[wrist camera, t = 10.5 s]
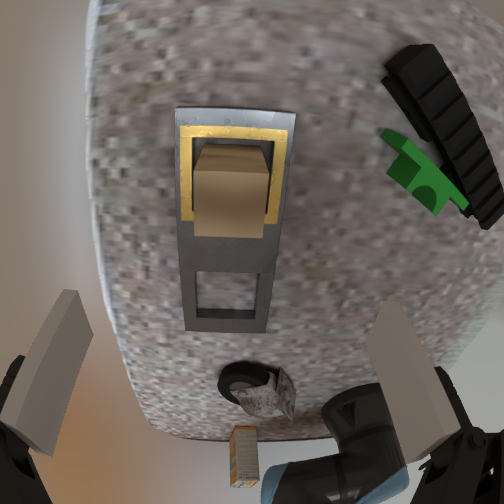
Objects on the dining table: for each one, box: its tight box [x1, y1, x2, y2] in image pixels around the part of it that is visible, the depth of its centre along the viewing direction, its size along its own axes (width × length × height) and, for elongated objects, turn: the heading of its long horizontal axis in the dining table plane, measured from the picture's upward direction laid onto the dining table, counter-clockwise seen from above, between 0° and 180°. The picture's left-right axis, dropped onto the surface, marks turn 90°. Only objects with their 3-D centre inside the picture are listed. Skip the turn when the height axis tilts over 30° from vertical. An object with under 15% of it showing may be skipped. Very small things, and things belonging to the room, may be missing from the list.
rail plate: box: [175, 106, 296, 333], centre depth 31 cm, size 26×10×2 cm, turn 176°
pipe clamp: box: [381, 128, 469, 216], centre depth 26 cm, size 11×4×5 cm, turn 59°
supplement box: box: [230, 426, 260, 488], centre depth 54 cm, size 8×5×13 cm, turn 167°
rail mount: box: [381, 44, 504, 230], centre depth 24 cm, size 21×6×5 cm, turn 46°
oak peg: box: [194, 144, 269, 238], centre depth 24 cm, size 5×5×8 cm
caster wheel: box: [217, 363, 296, 422], centre depth 44 cm, size 7×11×10 cm
